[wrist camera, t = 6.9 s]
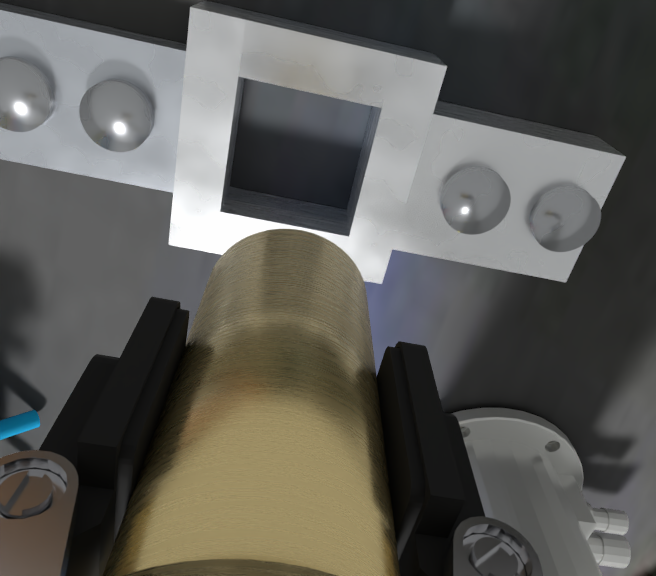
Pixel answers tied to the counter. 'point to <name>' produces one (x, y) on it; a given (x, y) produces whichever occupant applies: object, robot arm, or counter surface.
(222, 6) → the white studded link plate
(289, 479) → the pin
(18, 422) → the gear
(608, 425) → the counter surface
